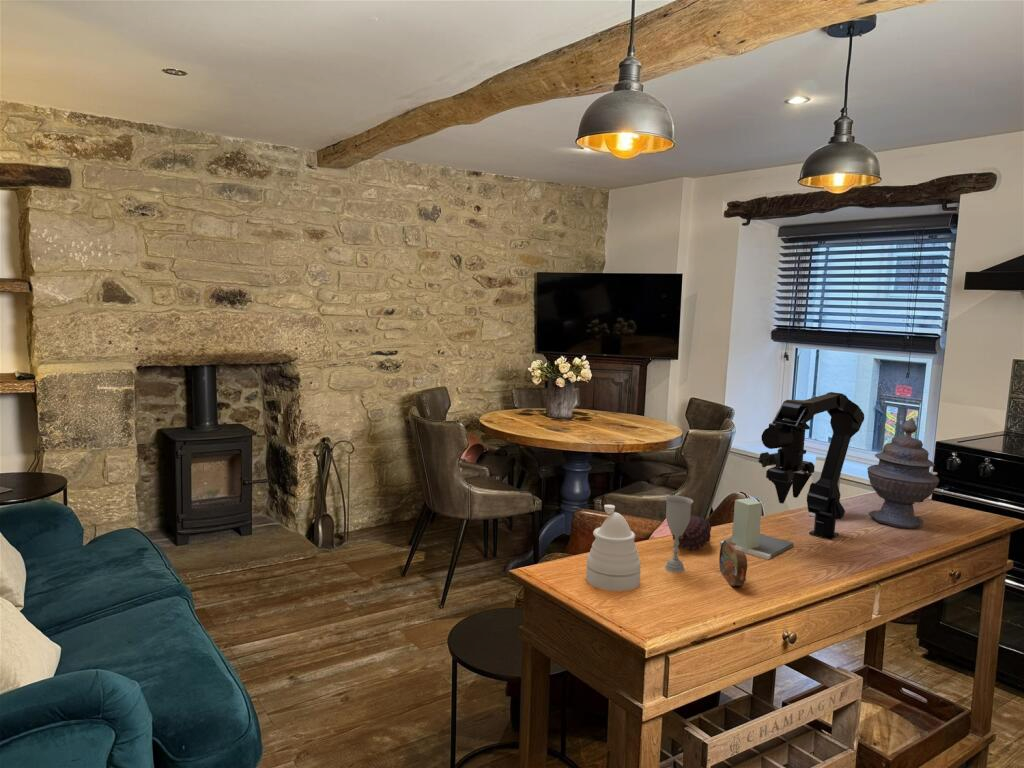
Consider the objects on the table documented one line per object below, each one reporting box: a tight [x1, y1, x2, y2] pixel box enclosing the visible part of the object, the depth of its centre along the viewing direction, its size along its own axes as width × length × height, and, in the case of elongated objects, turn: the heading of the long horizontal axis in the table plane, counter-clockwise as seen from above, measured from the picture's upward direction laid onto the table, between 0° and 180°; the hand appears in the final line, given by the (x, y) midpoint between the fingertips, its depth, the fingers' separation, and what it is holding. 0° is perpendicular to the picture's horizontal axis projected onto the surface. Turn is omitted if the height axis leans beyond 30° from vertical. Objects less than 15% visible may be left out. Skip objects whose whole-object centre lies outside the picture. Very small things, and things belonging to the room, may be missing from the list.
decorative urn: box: [867, 417, 940, 529], centre depth 222 cm, size 20×20×34 cm
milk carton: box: [808, 456, 842, 517], centre depth 228 cm, size 7×7×19 cm
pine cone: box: [671, 514, 712, 552], centre depth 195 cm, size 18×10×10 cm
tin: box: [718, 540, 748, 587], centre depth 172 cm, size 15×3×8 cm, turn 178°
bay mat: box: [719, 533, 794, 560], centre depth 198 cm, size 16×14×1 cm
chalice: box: [664, 495, 694, 574], centre depth 177 cm, size 7×7×18 cm
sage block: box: [731, 497, 763, 550], centre depth 194 cm, size 5×5×12 cm
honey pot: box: [585, 504, 642, 592], centre depth 169 cm, size 13×13×18 cm
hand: (788, 500), depth 198 cm, fingers open, 9 cm apart
